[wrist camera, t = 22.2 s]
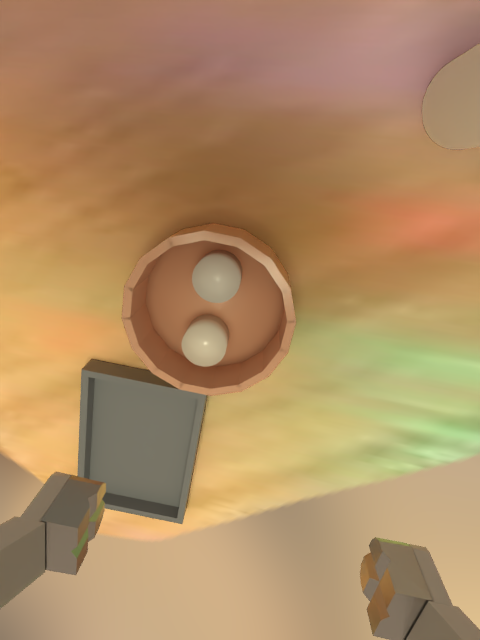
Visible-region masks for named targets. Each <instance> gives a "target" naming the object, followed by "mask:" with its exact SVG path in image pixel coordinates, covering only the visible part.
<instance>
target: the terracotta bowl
mask: <svg viewBox="0 0 480 640" xmlns="http://www.w3.org/2000/svg"><path fill="white" fill-rule="evenodd" d="M213 250H226V251H228V252H231V253H232V254H234V255H235V256H236V257H237V258H238V260H239V261H240V263H241V266H242V279H241V282H240V286H239V289H238V291H237V293H236V294H235V295H234V296H233V297H232V298H231V299H229V300H228V301H225V302H222V303H212V302H209V301H206V300H204V299H203V298H201V297H200V296H199V295H198V294H197V292H196V291H195V289H194V287H193V283H192V274H193V270H194V268H195V266H196V265H197V264H198V263H199V261H200V260H201V259H202V258H203V257H204V256H205V255H206V254H207V253H209V252H211V251H213ZM206 314H209V315H214V316H217V317H219V318H220V319H222V320H223V321H224V322H225V323H226V325H227V327H228V329H229V340H228V344H227V348H226V352H225V355H224V357H223V358H222V360H221V361H220V362H218V363H217V364H215V365H212V366H207V367H203V366H198V365H195V364H193V363H192V362H190V361H189V360H188V359H187V358H186V357H185V355H184V353H183V351H182V339H183V337H184V335H185V333H186V331H187V329H188V327H189V325H190V324H191V322H192V321H193V320H194V319H195V318H196V317H198V316H201V315H206ZM122 321H123V324H124V327H125V330H126V333H127V336H128V339H129V342H130V345H131V348H132V349H133V351H134V352H135V353H136V354H137V355H138V357H139V358H140V359H141V360H142V362H143V363H144V364H145V365H146V366H147V368H148V369H149V370H150V371H151V372H152V373H153V374H154V375H156V376H158V377H159V378H161V379H163V380H164V381H166V382H168V383H170V384H171V385H173V386H175V387H176V388H178V389H180V390H185V391H189V392H194V393H199V394H204V395H209V396H213V395H220V394H227V393H235V392H242V391H243V390H245V389H247V388H249V387H251V386H253V385H254V384H256V383H258V382H260V381H262V380H264V379H265V378H267V377H269V376H270V374H271V373H272V372H273V371H274V369H275V368H276V367H277V366H278V364H279V363H280V362H281V361H282V359H283V358H284V357H285V356H286V354H287V353H288V351H289V347H290V343H291V339H292V336H293V332H294V328H295V325H296V318H295V312H294V305H293V299H292V293H291V287H290V282H289V277H288V273H287V272H286V270H285V269H284V267H283V266H282V264H281V262H280V261H279V259H278V258H277V256H276V255H275V253H274V252H273V250H272V248H271V247H269V246H268V245H266V244H265V243H263V242H262V241H261V240H259V239H258V238H256V237H255V236H253V235H252V234H250V233H249V232H247V231H246V230H244V229H239V228H235V227H230V226H225V225H220V224H215V223H211V224H206V225H201V226H196V227H191V228H186V229H182V230H180V231H178V232H177V233H175V234H173V235H172V236H170V237H168V238H167V239H166V240H164V241H163V242H162V243H160V244H159V245H157V246H156V247H155V248H153V249H152V250H150V251H149V252H148V253H146V254H145V255H143V256H142V257H141V258H140V259H139V261H138V263H137V265H136V266H135V268H134V270H133V272H132V274H131V275H130V277H129V279H128V281H127V282H126V284H125V286H124V296H123V309H122Z"/></svg>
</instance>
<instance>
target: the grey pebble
mask: <svg viewBox="0 0 480 640" xmlns="http://www.w3.org/2000/svg"><path fill="white" fill-rule="evenodd" d="M241 279H242V266H241V263H240V261H239V260H238V258H237V257H236V256H235V255H234V254H232V253H231V252H228V251H226V250H213V251H211V252H209V253H207V254H206V255H205V256H204V257H203V258H202V259H201V260H200V261H199V263H198V264H197V265H196V266H195V268H194V270H193V274H192V283H193V287H194V289H195V291H196V292H197V294H198V295H199V296H200V297H201V298H203V299H204V300H206V301H209V302H212V303H222V302H225V301H228V300H229V299H231V298H232V297H233V296H234V295H235V294H236V293H237V291H238V289H239V286H240V282H241Z"/></svg>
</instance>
